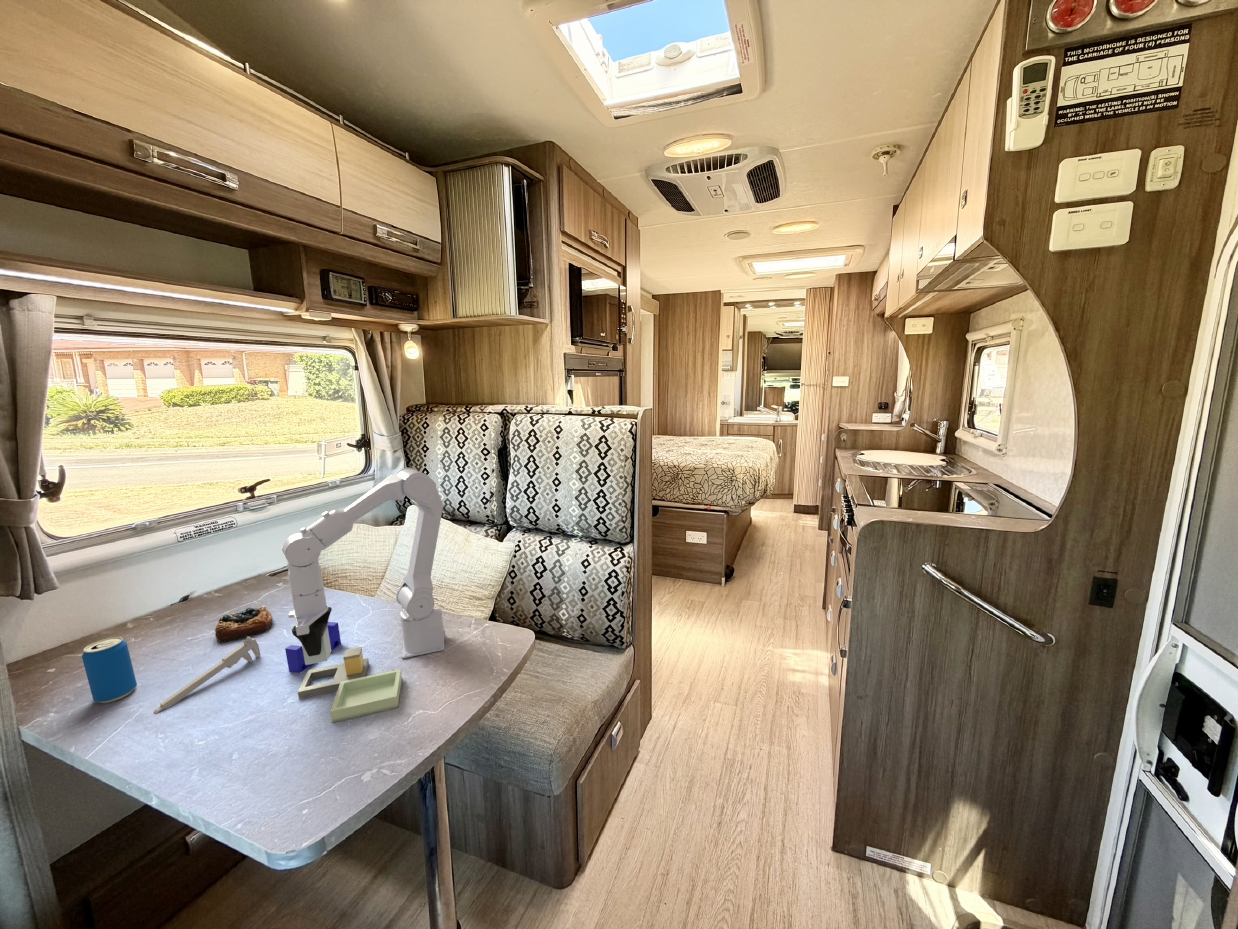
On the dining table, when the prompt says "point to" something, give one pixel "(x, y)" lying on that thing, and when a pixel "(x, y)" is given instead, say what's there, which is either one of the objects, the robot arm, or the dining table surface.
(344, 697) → the parts tray
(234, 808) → the dining table surface
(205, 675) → the caliper
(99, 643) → the beverage can
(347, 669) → the block
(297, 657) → the cable clip
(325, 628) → the grey-green rectangular block
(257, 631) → the pastry
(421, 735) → the dining table surface
